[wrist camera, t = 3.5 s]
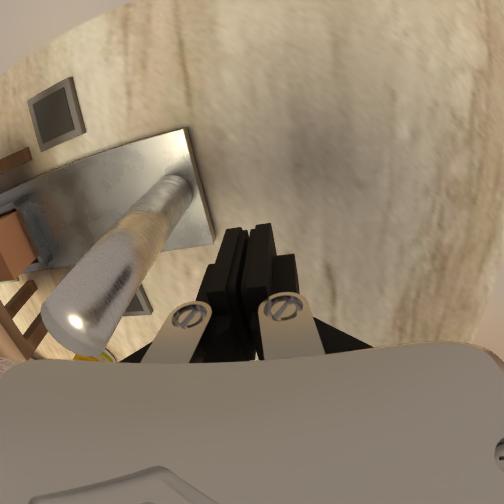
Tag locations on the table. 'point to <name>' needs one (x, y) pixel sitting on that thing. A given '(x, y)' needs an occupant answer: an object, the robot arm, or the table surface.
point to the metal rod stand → (109, 230)
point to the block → (13, 247)
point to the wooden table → (48, 135)
